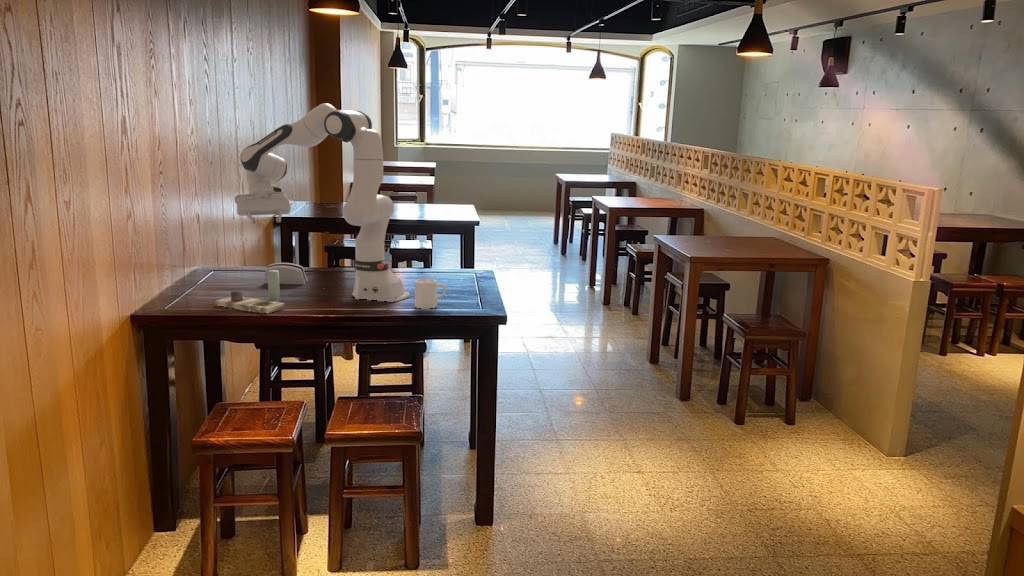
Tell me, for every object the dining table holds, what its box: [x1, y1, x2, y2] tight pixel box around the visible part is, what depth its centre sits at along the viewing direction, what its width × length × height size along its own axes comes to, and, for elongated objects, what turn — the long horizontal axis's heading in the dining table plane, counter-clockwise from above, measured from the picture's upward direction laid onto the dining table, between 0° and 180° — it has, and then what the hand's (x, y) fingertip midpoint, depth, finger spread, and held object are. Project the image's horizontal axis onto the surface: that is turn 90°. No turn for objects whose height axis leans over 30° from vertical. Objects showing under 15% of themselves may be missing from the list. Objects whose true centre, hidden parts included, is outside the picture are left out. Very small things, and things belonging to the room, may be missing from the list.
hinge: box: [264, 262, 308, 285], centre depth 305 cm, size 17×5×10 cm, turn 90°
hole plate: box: [214, 290, 286, 315], centre depth 267 cm, size 24×9×5 cm, turn 67°
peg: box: [267, 270, 281, 302], centre depth 273 cm, size 4×4×12 cm
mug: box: [414, 278, 448, 310], centre depth 273 cm, size 8×12×10 cm, turn 86°
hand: (266, 222), depth 287 cm, fingers open, 8 cm apart
